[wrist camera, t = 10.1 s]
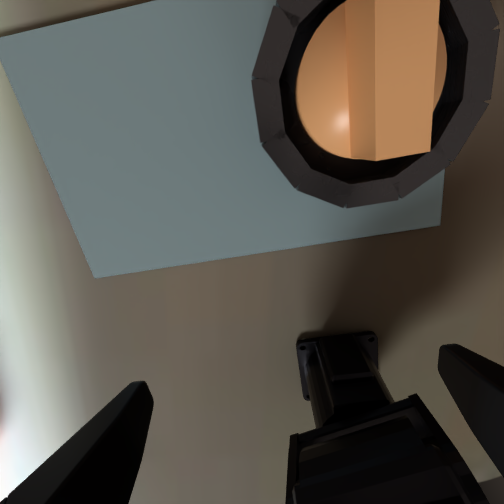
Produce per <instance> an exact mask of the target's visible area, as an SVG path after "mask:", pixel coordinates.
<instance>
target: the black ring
mask: <svg viewBox="0 0 504 504" xmlns="http://www.w3.org/2000/svg"><path fill="white" fill-rule="evenodd" d="M345 1H346V0H276V6H274V5H273V8H272V11H271V15H270V18H269V21H268V24H267V27H266V31H265V34H264V37H263V40H262V43H261V47H260V50H259V53H258V56H257V60H256V63H255V66H254V69H253V72H252V80H251V83H252V93H253V100H254V107H255V113H256V120H257V127H258V133H259V140H260V143H263V142H265V143H264V144H263V145H262V148H263V149H264V150H265V152H266V153H267V154H268V156H269V157H270V158H271V159H272V161H273V162H274V163H275V165H276V166H277V167H278V169H279V170H280V171H281V173H282V174H283V175H284V176H285V178H286V179H287V180H288V181H289V183H290V184H291V185H292V186H293V187H294V189H296V190H297V191H299V192H302V193H305V194H307V195H310V196H313V197H315V198H318V199H320V200H323V201H326V202H328V203H331V204H333V205H336V206H339V207H341V208H344V207H345V208H347V209H348V208H354V207H360V206H366V205H372V204H378V203H385V202H391V201H397V200H399V198H401V199H402V198H404V197H405V196H407V195H408V194H410V193H411V192H412V191H414V190H415V189H417V188H418V187H419V186H421V185H422V184H424V183H425V182H427V181H428V180H429V179H431V178H432V177H434V176H435V175H436V174H438V173H439V172H441V171H442V170H444V169H445V168H446V167H448V166H449V165H451V164H450V162H449V161H454V160H455V158H456V157H457V155H458V153H459V152H460V150H461V149H462V147H463V145H464V144H465V142H466V140H467V139H468V137H469V136H470V134H471V132H472V131H473V129H474V127H475V126H476V124H477V123H478V121H479V119H480V118H481V116H482V114H483V113H484V111H485V110H486V108H487V106H488V105H489V104H488V103H486V102H483V101H485V100H490V99H491V92H492V85H493V77H494V70H495V62H496V54H497V47H498V39H499V32H500V29H496V30H492V29H493V28H495V27H496V26H497V25H498V24H499V22H498V19H497V17H496V14H495V12H494V10H493V7H492V5H491V2H490V0H440V6H439V21H438V23H439V25H440V28H441V30H442V33H443V36H444V40H445V45H446V53H447V69H446V76H445V81H444V85H443V89H442V92H441V95H440V98H439V101H438V103H437V105H436V107H435V109H434V111H433V115H432V131H431V147H430V152H424V153H418V154H413V155H407V156H401V157H396V158H390V159H384V160H378V161H372V160H365V159H351V158H344V157H339V156H335V155H332V154H329V153H327V152H325V151H323V150H322V149H320V148H319V147H317V146H316V145H315V144H314V143H313V142H312V141H311V140H310V139H309V137H308V136H307V135H306V134H305V132H304V130H303V129H302V127H301V124H300V122H299V120H298V117H297V113H296V109H295V102H294V86H295V78H296V73H297V70H298V66H299V63H300V61H301V58H302V56H303V54H304V52H305V50H306V48H307V46H308V44H309V42H310V40H311V38H312V36H313V35H314V33H315V31H316V30H317V28H318V27H319V26H320V24H321V23H322V22H323V21H324V19H325V18H326V17H327V16H328V15H329V14H330V13H331V12H332V11H333V10H335V9H336V8H337V7H338V6H339V5H341V4H342V3H344V2H345Z"/></svg>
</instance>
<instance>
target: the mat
mask: <svg viewBox="0 0 504 504" xmlns="http://www.w3.org/2000/svg"><path fill="white" fill-rule="evenodd" d="M273 5H274V6H276V0H155V1H151V2H147V3H142V4H138V5H134V6H130V7H126V8H122V9H117V10H113V11H109V12H105V13H101V14H96V15H92V16H88V17H84V18H80V19H76V20H71V21H67V22H63V23H59V24H55V25H50V26H46V27H42V28H38V29H34V30H29V31H25V32H21V33H17V34H13V35H9V36H4V37H0V61H1V63H2V65H3V67H4V70H5V72H6V74H7V77H8V79H9V81H10V84H11V86H12V88H13V91H14V93H15V95H16V98H17V100H18V102H19V105H20V107H21V109H22V111H23V114H24V116H25V118H26V121H27V123H28V125H29V128H30V130H31V132H32V135H33V137H34V139H35V142H36V144H37V146H38V149H39V151H40V153H41V155H42V158H43V160H44V162H45V165H46V167H47V169H48V172H49V174H50V176H51V179H52V181H53V183H54V186H55V188H56V190H57V192H58V195H59V197H60V199H61V202H62V204H63V206H64V209H65V211H66V213H67V216H68V218H69V220H70V223H71V225H72V227H73V230H74V232H75V234H76V236H77V239H78V241H79V243H80V246H81V248H82V250H83V253H84V255H85V257H86V260H87V262H88V264H89V267H90V269H91V271H92V274H93V276H94V278H100V277H107V276H113V275H120V274H126V273H133V272H140V271H146V270H153V269H159V268H166V267H172V266H179V265H185V264H192V263H198V262H205V261H211V260H218V259H224V258H231V257H237V256H244V255H250V254H257V253H264V252H270V251H277V250H283V249H290V248H296V247H303V246H309V245H316V244H322V243H329V242H335V241H342V240H348V239H355V238H361V237H368V236H374V235H381V234H388V233H394V232H401V231H407V230H414V229H420V228H427V227H433V226H440V221H441V209H442V197H443V186H444V174H445V169H444V170H442V171H441V172H439V173H438V174H436V175H435V176H434V177H432V178H431V179H429V180H428V181H427V182H425V183H424V184H422V185H421V186H419V187H418V188H417V189H415V190H414V191H412V192H411V193H410V194H408V195H407V196H405V197H404V198H402V199H401V198H399V200H397V201H391V202H385V203H378V204H372V205H366V206H360V207H354V208H348V209H347V208H345V207H344V208H341V207H339V206H336V205H333V204H331V203H328V202H326V201H323V200H320V199H318V198H315V197H313V196H310V195H307V194H305V193H302V192H299V191H297V190H296V189H294V187H293V186H292V185H291V184H290V183H289V181H288V180H287V179H286V178H285V176H284V175H283V174H282V173H281V171H280V170H279V169H278V167H277V166H276V165H275V163H274V162H273V161H272V159H271V158H270V157H269V156H268V154H267V153H266V152H265V150H264V149H263V148H262V145H263V144H264V143H265V142H263V143H260V140H259V133H258V127H257V120H256V113H255V107H254V100H253V93H252V83H251V80H252V72H253V69H254V66H255V63H256V60H257V56H258V53H259V50H260V47H261V43H262V40H263V37H264V34H265V31H266V27H267V24H268V21H269V18H270V15H271V11H272V8H273Z"/></svg>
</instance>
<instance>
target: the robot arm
mask: <svg viewBox="0 0 504 504" xmlns="http://www.w3.org/2000/svg"><path fill="white" fill-rule="evenodd" d="M370 337H372V338H370ZM368 338H370V339H368ZM302 345H304V347H300V346H302ZM296 349H297V356H298V363H299V370H300V377H301V384H302V391H303V397H304V399H305V400H307V401H311V406H312V411H313V415H314V420H315V425H316V429H313V430H310V431H307V432H304V433H301V434H298V433H296V434H293V435H290V445H289V453H288V470H287V487H286V504H489V502H488V500H487V498H486V496H485V495H484V493H483V491H482V489H481V487H480V486H479V484H478V482H477V481H476V479H475V477H474V476H473V474H472V472H471V471H470V469H469V468H468V466H467V464H466V463H465V461H464V460H463V458H462V456H461V455H460V453H459V452H458V450H457V449H456V447H455V446H454V445H453V443H452V442H451V440H450V439H449V438H448V436H447V435H446V433H445V432H444V431H443V429H442V428H441V426H440V425H439V424H438V422H437V421H436V420H435V418H434V417H433V415H432V414H431V413H430V411H429V410H428V408H427V407H426V406H425V404H424V403H423V402H422V400H421V399H420V397H419V396H418V395H417V393H416V394H413V395H410V396H408V397H409V398H406V399H403V400H400V401H397V402H394V400H393V398H392V396H391V394H390V392H389V390H388V388H387V387H386V385H385V383H384V381H383V379H382V377H381V375H380V373H379V372H378V338H377V336H376V334H375V333H374V332H372V331H367V332H359V333H351V334H343V335H335V336H327V337H319V338H311V339H303V340H299V341H298V342H297V343H296ZM438 371H439V374H440V376H441V378H442V379H443V381H444V383H445V385H446V387H447V388H448V390H449V392H450V394H451V395H452V397H453V399H454V401H455V403H456V404H457V406H458V408H459V410H460V411H461V413H462V415H463V417H464V419H465V420H466V422H467V424H468V425H469V427H470V429H471V430H472V432H473V433H474V435H475V436H476V438H477V440H478V441H479V442H480V444H481V445H482V447H483V448H484V450H485V451H486V453H487V454H488V456H489V457H490V458H491V460H492V461H493V463H494V464H495V466H496V467H497V469H498V470H499V472H500V473H501V475H502V476H503V477H504V367H503V366H501V365H499V364H497V363H495V362H493V361H491V360H489V359H487V358H485V357H483V356H481V355H479V354H477V353H475V352H473V351H471V350H469V349H467V348H465V347H463V346H461V345H458V344H447V345H442V346H441V347H440V349H439V359H438ZM153 405H154V401H153V397H152V395H151V392H150V390H149V388H148V385H147V383H146V382H145V381H136V382H132V383H130V384H129V385H128V386H127V387H126V388H124V389H123V390H122V391H121V392H120V393H119V394H118V395H117V396H116V397H115V398H114V399H112V400H111V401H110V402H109V403H108V404H107V405H106V406H105V407H104V408H103V409H102V410H100V411H99V412H98V413H97V414H96V415H95V416H94V417H93V418H92V419H91V420H90V421H88V422H87V423H86V424H85V425H84V426H83V427H82V428H81V429H80V430H79V431H78V432H76V433H75V434H74V435H73V436H72V437H71V438H70V439H69V440H68V441H67V442H66V443H64V444H63V445H62V446H61V447H60V448H59V449H58V450H57V451H56V452H55V453H54V454H52V455H51V456H50V457H49V458H48V459H47V460H46V461H45V462H44V463H43V464H42V465H40V466H39V467H38V468H37V469H36V470H35V471H34V472H33V473H32V474H31V475H29V476H28V477H27V478H26V479H25V480H24V481H23V482H22V483H21V484H20V485H19V486H17V487H16V488H15V489H14V490H13V491H12V492H11V493H10V494H9V495H8V498H7V497H6V498H4V499H3V500H2V501H1V502H0V504H128V503H129V500H130V497H131V494H132V490H133V487H134V484H135V481H136V477H137V474H138V471H139V468H140V464H141V461H142V457H143V453H144V448H145V443H146V439H147V434H148V429H149V425H150V420H151V416H152V411H153Z"/></svg>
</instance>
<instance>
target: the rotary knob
mask: <svg viewBox="0 0 504 504" xmlns="http://www.w3.org/2000/svg"><path fill="white" fill-rule="evenodd" d="M439 6H440V0H346V1H345V2H344V3H342V4H341V5H339V6H338V7H337V8H336V9H335V10H333V11H332V12H331V13H330V14H329V15H328V16H327V17H326V18H325V19H324V21H323V22H322V23H321V24H320V26H319V27H318V28H317V30H316V31H315V33H314V35H313V36H312V38H311V40H310V42H309V44H308V46H307V48H306V50H305V52H304V54H303V56H302V58H301V61H300V63H299V66H298V70H297V73H296V78H295V86H294V102H295V109H296V113H297V117H298V120H299V122H300V124H301V127H302V129H303V130H304V132H305V134H306V135H307V136H308V137H309V139H310V140H311V141H312V142H313V143H314V144H315V145H316V146H317V147H319V148H320V149H322V150H323V151H325V152H327V153H329V154H332V155H335V156H339V157H344V158H351V159H365V160H372V161H378V160H384V159H390V158H396V157H401V156H407V155H413V154H418V153H424V152H430V147H431V131H432V115H433V111H434V109H435V107H436V105H437V103H438V101H439V98H440V95H441V92H442V89H443V85H444V81H445V76H446V69H447V53H446V45H445V40H444V36H443V33H442V30H441V28H440V25H439V23H438V21H439Z"/></svg>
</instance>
